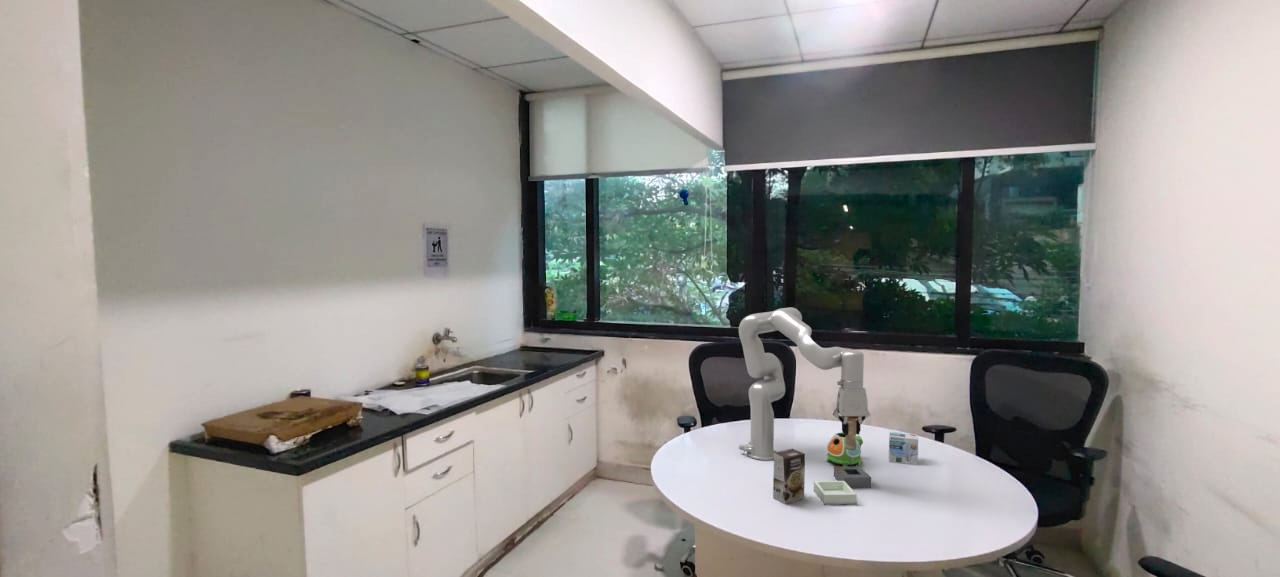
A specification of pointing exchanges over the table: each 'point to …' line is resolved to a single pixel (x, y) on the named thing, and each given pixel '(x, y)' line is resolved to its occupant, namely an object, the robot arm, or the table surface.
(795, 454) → the coffee box
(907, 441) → the light bulb box
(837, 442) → the turtle holder
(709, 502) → the table surface
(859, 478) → the hitch block
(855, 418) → the pin
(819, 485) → the tray
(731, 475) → the table surface
